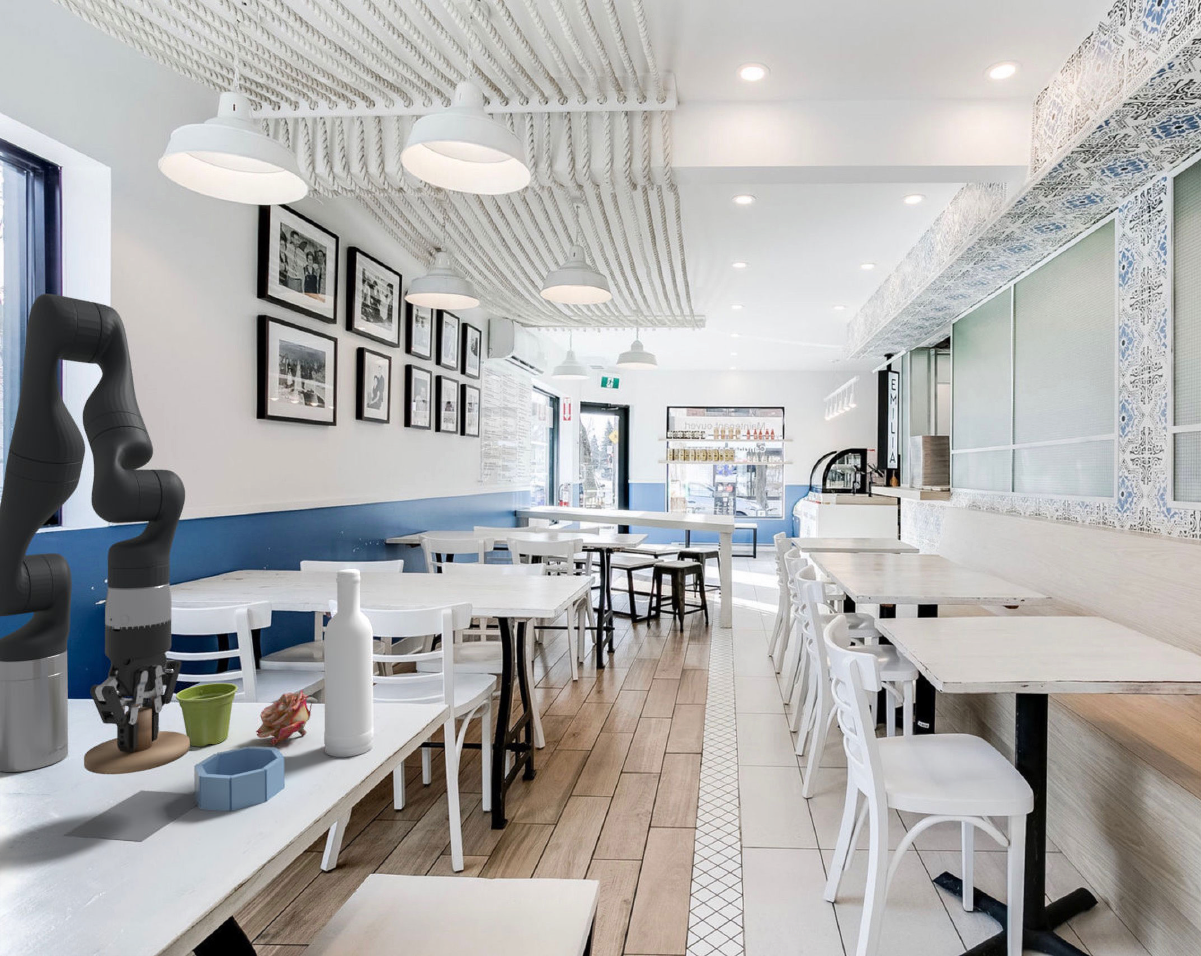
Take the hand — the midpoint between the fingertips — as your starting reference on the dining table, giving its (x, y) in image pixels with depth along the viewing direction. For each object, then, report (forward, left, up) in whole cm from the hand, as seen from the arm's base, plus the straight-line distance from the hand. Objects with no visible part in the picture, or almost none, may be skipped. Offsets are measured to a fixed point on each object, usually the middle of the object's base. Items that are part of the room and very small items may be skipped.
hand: (138, 745), depth 98 cm
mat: (0, 0, -10) cm, 10 cm away
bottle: (+16, +27, -10) cm, 33 cm away
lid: (0, 0, -1) cm, 1 cm away
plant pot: (-10, +27, -10) cm, 30 cm away
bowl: (+9, +8, -10) cm, 16 cm away
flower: (+3, +29, -10) cm, 31 cm away
